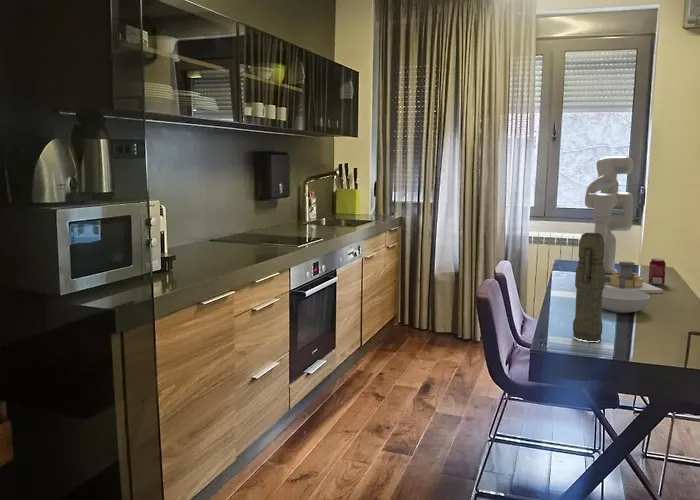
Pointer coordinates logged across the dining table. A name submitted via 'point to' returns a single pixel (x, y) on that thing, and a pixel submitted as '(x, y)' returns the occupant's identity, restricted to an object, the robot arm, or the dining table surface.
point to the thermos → (589, 288)
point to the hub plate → (627, 274)
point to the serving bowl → (624, 300)
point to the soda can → (657, 271)
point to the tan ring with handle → (632, 282)
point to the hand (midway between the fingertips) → (599, 258)
